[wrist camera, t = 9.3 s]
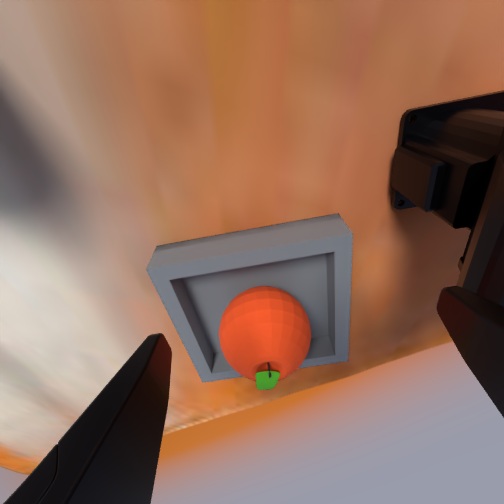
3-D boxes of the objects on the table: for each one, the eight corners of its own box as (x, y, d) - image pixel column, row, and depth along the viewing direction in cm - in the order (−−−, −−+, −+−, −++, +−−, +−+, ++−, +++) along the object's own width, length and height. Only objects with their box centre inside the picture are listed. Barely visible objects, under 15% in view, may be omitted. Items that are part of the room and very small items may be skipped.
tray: (338, 213, 20) (352, 233, 18) (338, 335, 28) (348, 361, 25) (156, 245, 21) (146, 269, 18) (205, 355, 29) (202, 382, 26)
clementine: (292, 333, 26) (309, 410, 20) (220, 333, 26) (216, 412, 20) (307, 268, 22) (334, 343, 16) (220, 266, 21) (215, 343, 15)
